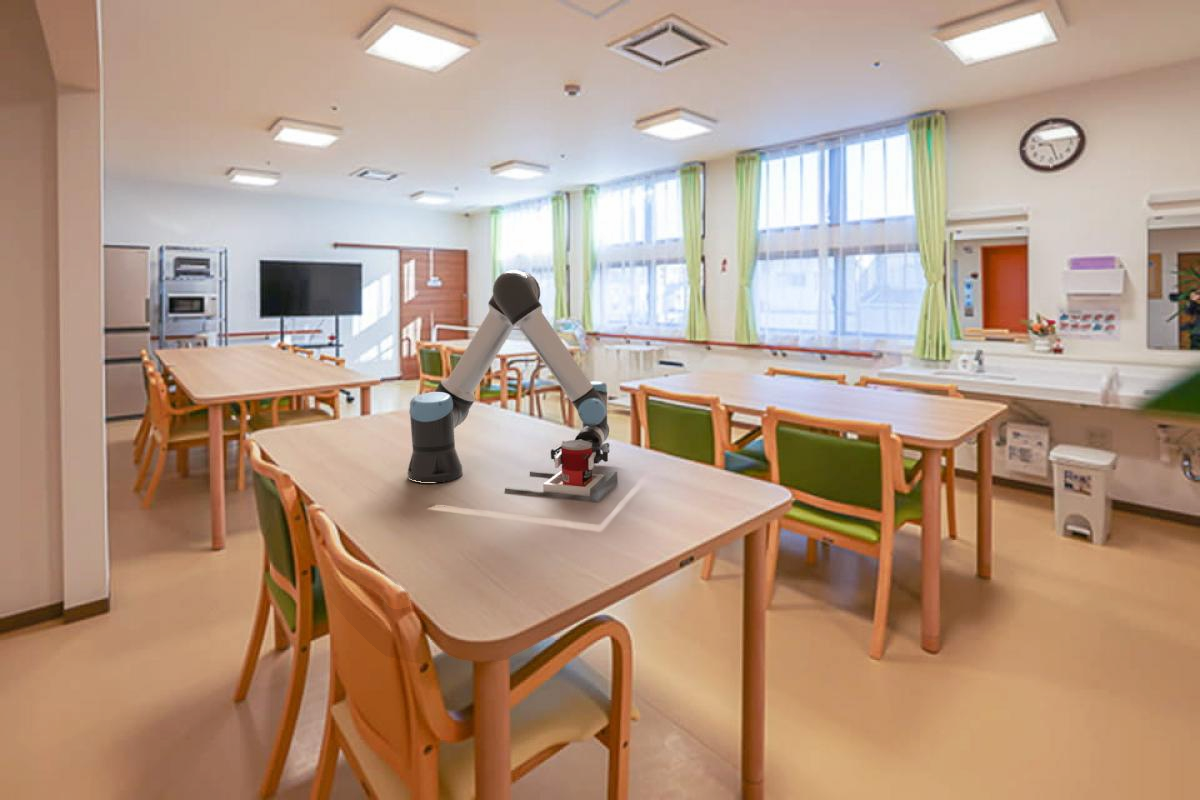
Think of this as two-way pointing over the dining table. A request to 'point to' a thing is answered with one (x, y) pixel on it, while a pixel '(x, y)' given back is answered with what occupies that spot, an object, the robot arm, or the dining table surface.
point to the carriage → (558, 487)
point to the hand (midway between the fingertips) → (573, 463)
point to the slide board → (595, 494)
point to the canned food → (576, 463)
